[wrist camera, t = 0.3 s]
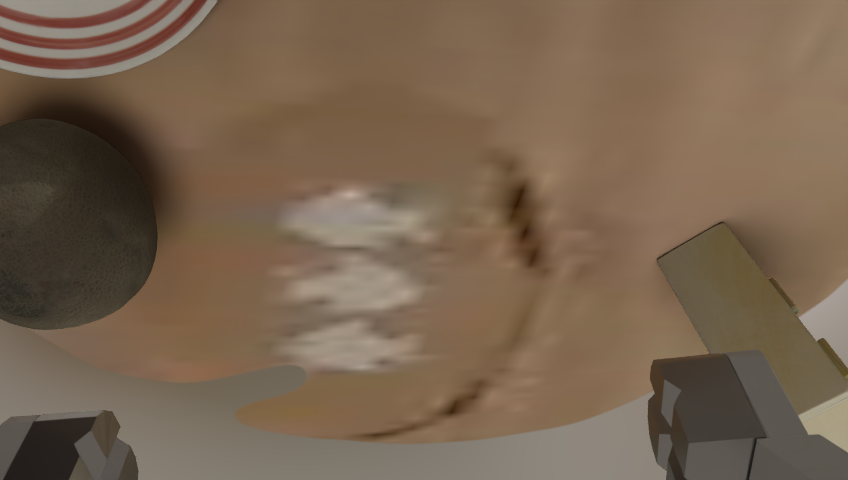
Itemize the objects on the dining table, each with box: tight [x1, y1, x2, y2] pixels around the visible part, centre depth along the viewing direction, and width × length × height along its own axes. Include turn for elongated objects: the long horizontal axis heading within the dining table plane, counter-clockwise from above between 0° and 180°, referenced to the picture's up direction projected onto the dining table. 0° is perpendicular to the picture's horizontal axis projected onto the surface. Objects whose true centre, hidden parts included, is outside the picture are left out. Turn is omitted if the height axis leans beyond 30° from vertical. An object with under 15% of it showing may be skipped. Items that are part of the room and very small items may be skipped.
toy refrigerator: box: [657, 223, 848, 452], centre depth 60 cm, size 8×7×21 cm
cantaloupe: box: [0, 119, 157, 330], centre depth 55 cm, size 14×14×15 cm
